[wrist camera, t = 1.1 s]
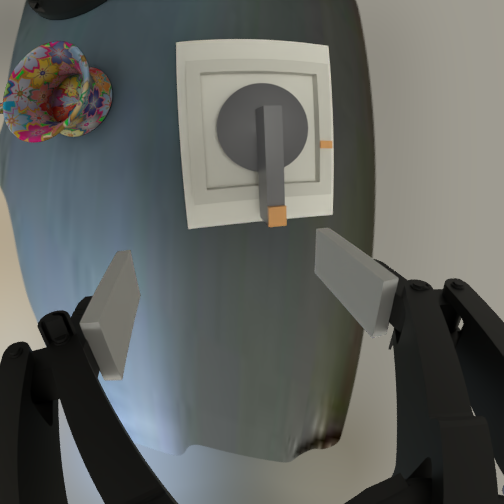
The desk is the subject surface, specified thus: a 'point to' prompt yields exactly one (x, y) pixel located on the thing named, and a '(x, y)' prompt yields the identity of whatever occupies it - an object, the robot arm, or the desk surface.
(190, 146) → the panel
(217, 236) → the desk surface
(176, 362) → the desk surface
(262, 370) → the desk surface
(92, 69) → the mug
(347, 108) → the desk surface
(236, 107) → the dial
